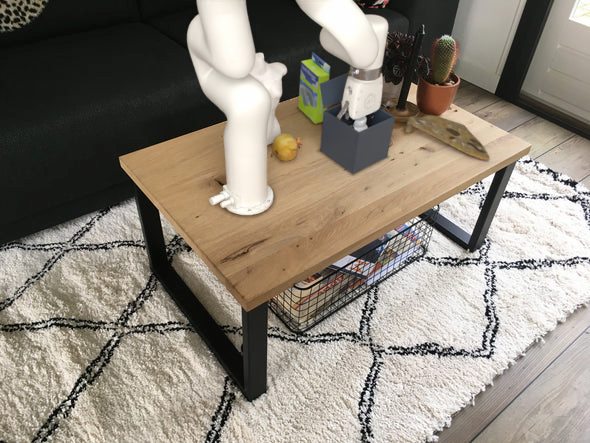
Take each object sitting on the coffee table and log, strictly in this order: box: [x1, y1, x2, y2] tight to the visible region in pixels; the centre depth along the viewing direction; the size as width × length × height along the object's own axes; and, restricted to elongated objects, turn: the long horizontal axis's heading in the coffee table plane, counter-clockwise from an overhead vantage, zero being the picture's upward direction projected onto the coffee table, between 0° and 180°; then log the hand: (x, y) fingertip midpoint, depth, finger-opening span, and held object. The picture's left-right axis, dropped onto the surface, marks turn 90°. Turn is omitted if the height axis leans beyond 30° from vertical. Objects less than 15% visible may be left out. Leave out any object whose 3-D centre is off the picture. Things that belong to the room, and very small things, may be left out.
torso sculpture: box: [249, 52, 288, 146], centre depth 131 cm, size 18×10×25 cm, turn 124°
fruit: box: [270, 133, 303, 162], centre depth 132 cm, size 7×7×10 cm
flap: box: [320, 72, 349, 109], centre depth 130 cm, size 13×6×1 cm
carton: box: [319, 103, 396, 175], centre depth 133 cm, size 13×13×12 cm
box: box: [298, 52, 331, 125], centre depth 145 cm, size 10×4×17 cm, turn 29°
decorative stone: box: [404, 114, 491, 161], centre depth 144 cm, size 25×15×5 cm, turn 51°
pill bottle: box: [353, 116, 368, 132], centre depth 132 cm, size 5×5×10 cm
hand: (356, 133), depth 133 cm, fingers closed on pill bottle, 5 cm apart
